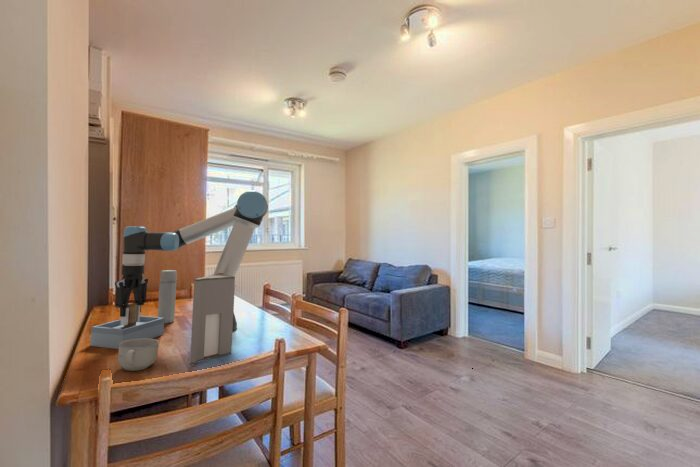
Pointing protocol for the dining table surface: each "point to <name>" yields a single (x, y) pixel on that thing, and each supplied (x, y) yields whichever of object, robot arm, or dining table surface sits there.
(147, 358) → the teacup
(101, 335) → the box
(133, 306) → the peg
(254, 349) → the dining table surface
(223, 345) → the cabinet
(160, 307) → the water bottle
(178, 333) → the dining table surface
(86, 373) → the dining table surface
